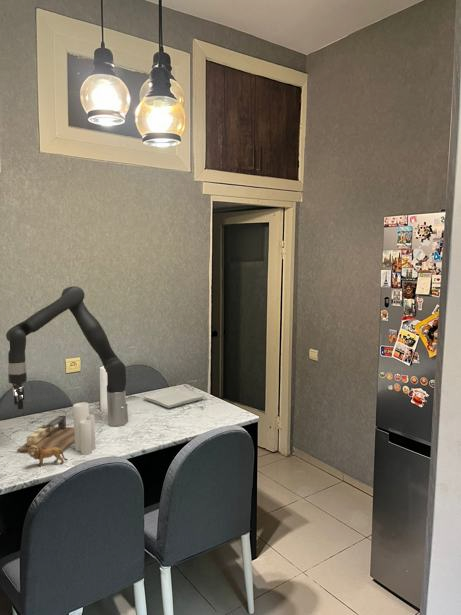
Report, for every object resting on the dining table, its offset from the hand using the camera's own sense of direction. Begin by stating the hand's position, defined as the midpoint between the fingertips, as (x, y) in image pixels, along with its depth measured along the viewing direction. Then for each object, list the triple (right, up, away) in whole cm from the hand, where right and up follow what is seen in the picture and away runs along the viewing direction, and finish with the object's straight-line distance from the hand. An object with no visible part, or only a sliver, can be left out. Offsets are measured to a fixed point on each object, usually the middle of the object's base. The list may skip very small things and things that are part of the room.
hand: (18, 406), depth 210 cm
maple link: (+9, -15, 0) cm, 18 cm away
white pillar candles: (+33, -18, -8) cm, 38 cm away
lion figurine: (+22, -19, -22) cm, 37 cm away
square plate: (+63, -11, +64) cm, 91 cm away
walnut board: (+15, -17, +3) cm, 23 cm away
